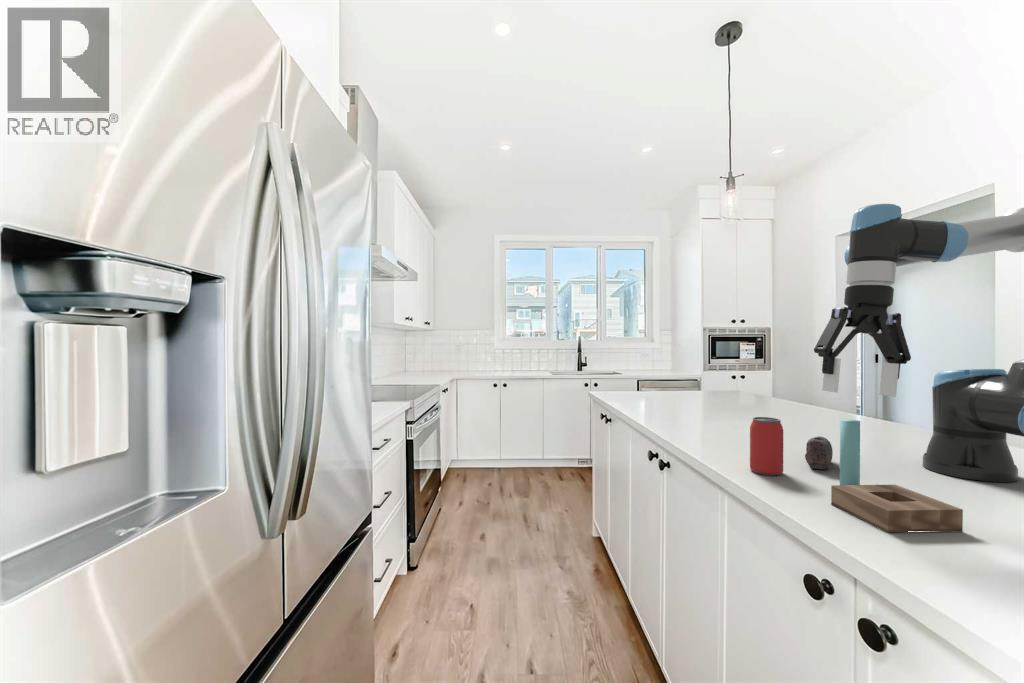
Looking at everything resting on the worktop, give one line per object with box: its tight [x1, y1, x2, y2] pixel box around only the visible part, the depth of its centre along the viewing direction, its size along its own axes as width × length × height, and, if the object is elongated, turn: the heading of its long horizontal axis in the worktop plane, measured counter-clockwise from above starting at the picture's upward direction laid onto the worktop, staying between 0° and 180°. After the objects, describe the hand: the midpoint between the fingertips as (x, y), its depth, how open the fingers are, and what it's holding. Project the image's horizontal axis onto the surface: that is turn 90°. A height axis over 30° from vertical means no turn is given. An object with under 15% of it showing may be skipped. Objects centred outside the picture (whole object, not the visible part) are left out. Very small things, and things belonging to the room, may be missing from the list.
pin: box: [839, 418, 861, 485], centre depth 90 cm, size 3×3×14 cm
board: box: [830, 484, 964, 533], centre depth 77 cm, size 12×12×4 cm
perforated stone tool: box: [804, 436, 834, 470], centre depth 108 cm, size 15×5×7 cm, turn 141°
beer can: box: [749, 416, 784, 477], centre depth 103 cm, size 7×7×12 cm
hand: (859, 393), depth 89 cm, fingers open, 13 cm apart
